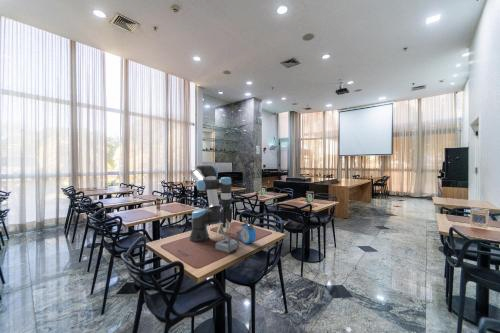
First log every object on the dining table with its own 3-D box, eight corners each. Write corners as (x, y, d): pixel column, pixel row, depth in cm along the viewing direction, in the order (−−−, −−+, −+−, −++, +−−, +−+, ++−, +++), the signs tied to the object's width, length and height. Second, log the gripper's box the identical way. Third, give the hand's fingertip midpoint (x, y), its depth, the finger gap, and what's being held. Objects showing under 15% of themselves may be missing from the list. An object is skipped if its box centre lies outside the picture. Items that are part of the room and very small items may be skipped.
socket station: (215, 249, 153) (215, 228, 152) (225, 243, 163) (225, 224, 162) (233, 254, 144) (233, 232, 144) (243, 248, 154) (243, 227, 154)
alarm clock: (239, 241, 167) (239, 222, 167) (245, 239, 172) (245, 220, 171) (250, 246, 158) (250, 226, 157) (256, 244, 162) (256, 224, 161)
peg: (223, 236, 154) (223, 219, 154) (226, 235, 156) (225, 219, 156) (226, 237, 153) (226, 220, 152) (229, 236, 155) (228, 219, 155)
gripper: (223, 200, 146) (223, 235, 146) (236, 197, 159) (236, 229, 159) (214, 199, 150) (215, 233, 150) (228, 196, 163) (228, 227, 163)
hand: (226, 231), depth 154 cm, fingers closed on peg, 2 cm apart
